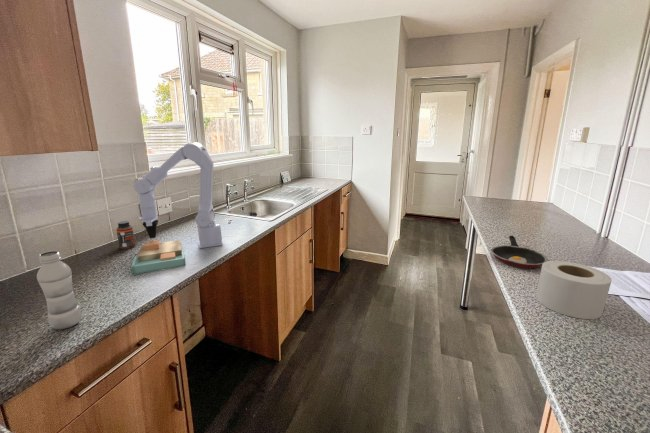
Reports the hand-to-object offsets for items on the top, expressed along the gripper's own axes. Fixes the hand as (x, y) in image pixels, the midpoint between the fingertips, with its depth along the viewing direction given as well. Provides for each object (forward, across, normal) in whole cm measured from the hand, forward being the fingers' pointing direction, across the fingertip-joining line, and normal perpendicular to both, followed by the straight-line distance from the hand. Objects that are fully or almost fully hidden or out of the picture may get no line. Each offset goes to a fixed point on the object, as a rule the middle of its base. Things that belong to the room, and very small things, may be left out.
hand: (152, 237), depth 131 cm
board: (+4, +10, +3) cm, 11 cm away
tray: (+4, +22, +3) cm, 22 cm away
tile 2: (+3, +20, +6) cm, 21 cm away
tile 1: (+1, +8, 0) cm, 8 cm away
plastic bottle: (+4, +53, -17) cm, 56 cm away
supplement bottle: (+5, -5, -10) cm, 12 cm away
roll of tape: (+4, +104, +112) cm, 153 cm away
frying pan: (+4, +74, +134) cm, 153 cm away
